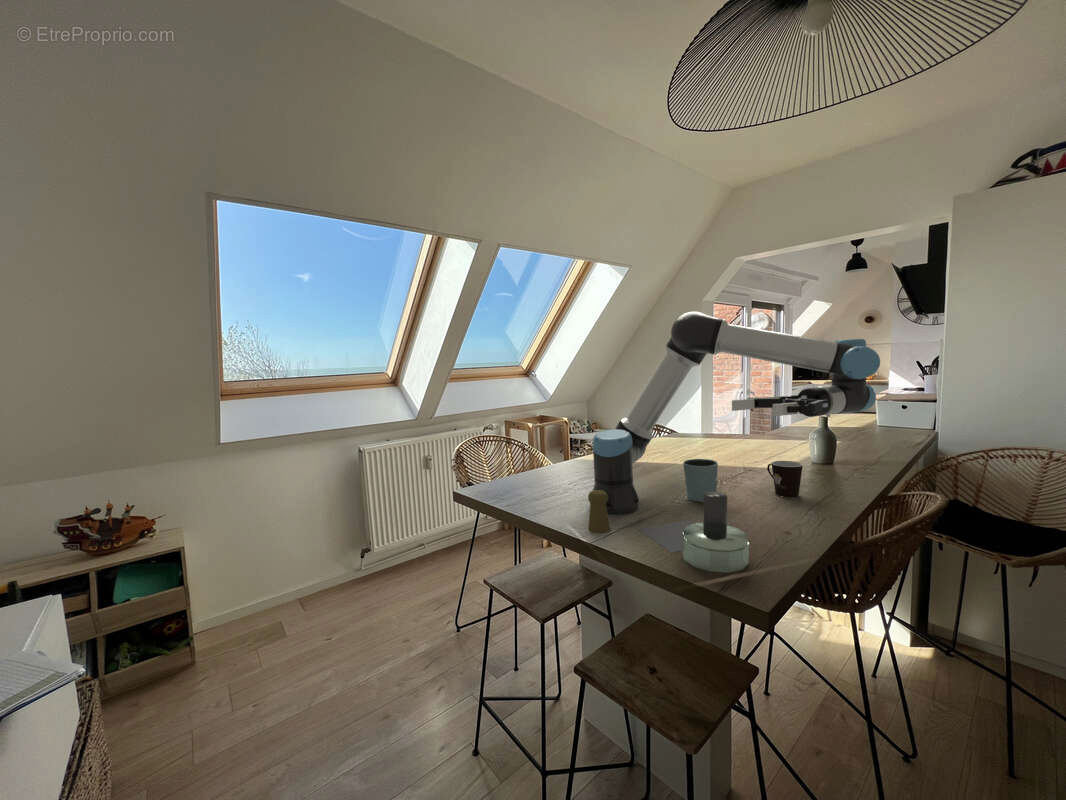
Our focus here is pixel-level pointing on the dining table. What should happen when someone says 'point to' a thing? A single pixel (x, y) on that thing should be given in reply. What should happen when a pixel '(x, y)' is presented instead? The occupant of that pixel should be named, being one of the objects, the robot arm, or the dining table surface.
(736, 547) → the cover
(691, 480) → the teal cup
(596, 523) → the cork
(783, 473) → the coffee mug
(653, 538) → the mat
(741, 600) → the dining table surface
